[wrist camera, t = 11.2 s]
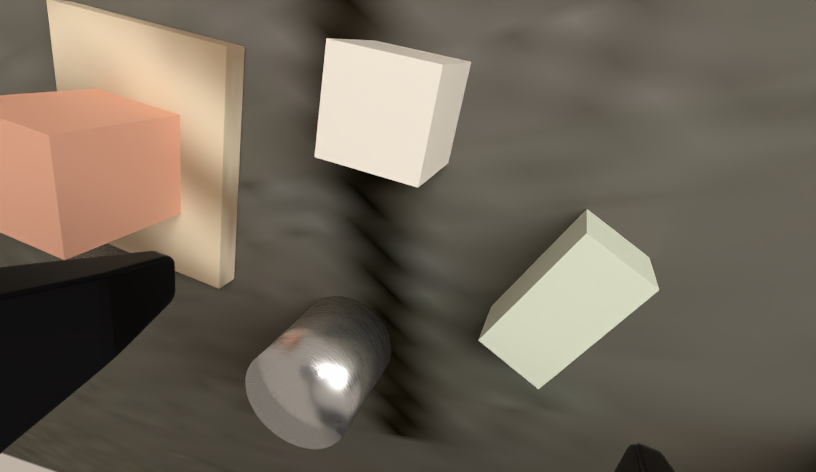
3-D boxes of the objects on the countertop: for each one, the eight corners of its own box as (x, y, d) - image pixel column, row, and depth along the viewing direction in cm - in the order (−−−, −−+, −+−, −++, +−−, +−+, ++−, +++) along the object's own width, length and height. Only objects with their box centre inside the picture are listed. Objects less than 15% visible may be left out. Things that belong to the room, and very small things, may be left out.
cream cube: (448, 162, 19) (418, 187, 16) (361, 138, 20) (314, 156, 17) (471, 61, 18) (442, 64, 14) (375, 40, 19) (326, 38, 15)
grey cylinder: (382, 393, 25) (338, 466, 21) (300, 358, 26) (242, 420, 22) (400, 317, 23) (355, 380, 19) (310, 282, 24) (248, 334, 20)
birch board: (234, 279, 26) (218, 288, 25) (92, 223, 28) (73, 229, 27) (244, 46, 21) (226, 46, 20) (71, 1, 23) (46, -1, 22)
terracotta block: (180, 213, 24) (64, 260, 18) (103, 184, 25) (-27, 220, 20) (180, 115, 22) (48, 135, 16) (95, 88, 23) (-53, 99, 17)
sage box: (544, 347, 21) (538, 389, 18) (491, 304, 21) (478, 340, 19) (648, 255, 18) (659, 289, 16) (586, 207, 18) (586, 233, 16)
